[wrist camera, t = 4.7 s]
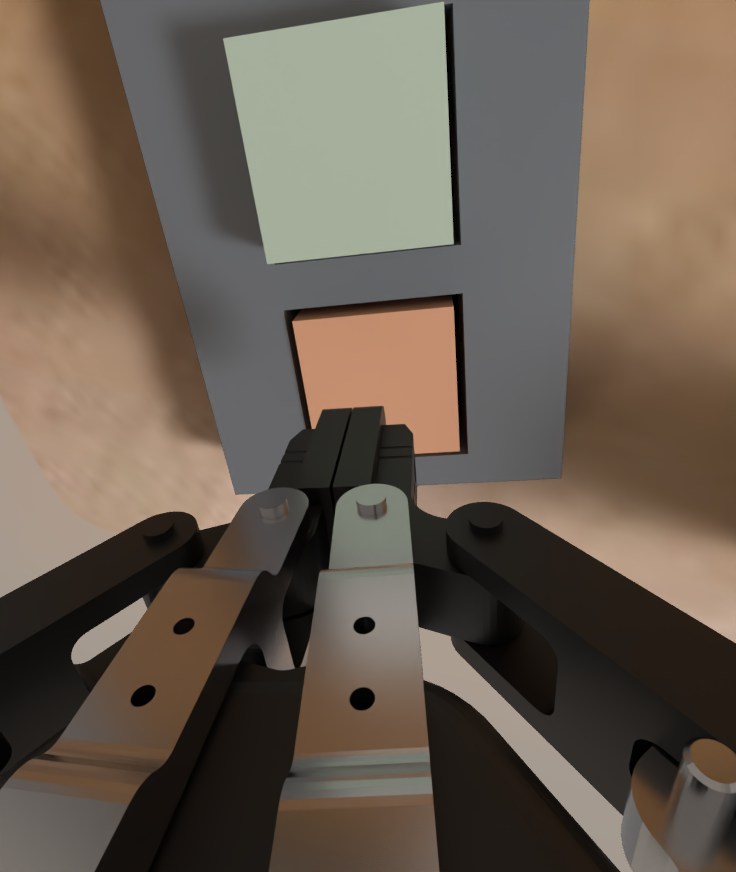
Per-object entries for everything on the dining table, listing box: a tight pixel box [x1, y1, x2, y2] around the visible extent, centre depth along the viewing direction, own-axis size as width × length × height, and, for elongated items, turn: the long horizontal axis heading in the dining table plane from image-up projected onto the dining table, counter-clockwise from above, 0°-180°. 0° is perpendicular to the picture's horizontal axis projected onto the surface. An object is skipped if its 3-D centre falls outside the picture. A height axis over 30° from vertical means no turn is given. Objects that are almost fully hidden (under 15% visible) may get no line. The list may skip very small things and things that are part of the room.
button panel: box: [100, 0, 590, 495], centre depth 16 cm, size 22×12×3 cm, turn 7°
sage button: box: [223, 2, 454, 264], centre depth 14 cm, size 5×5×3 cm
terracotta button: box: [292, 294, 460, 454], centre depth 19 cm, size 5×5×3 cm
